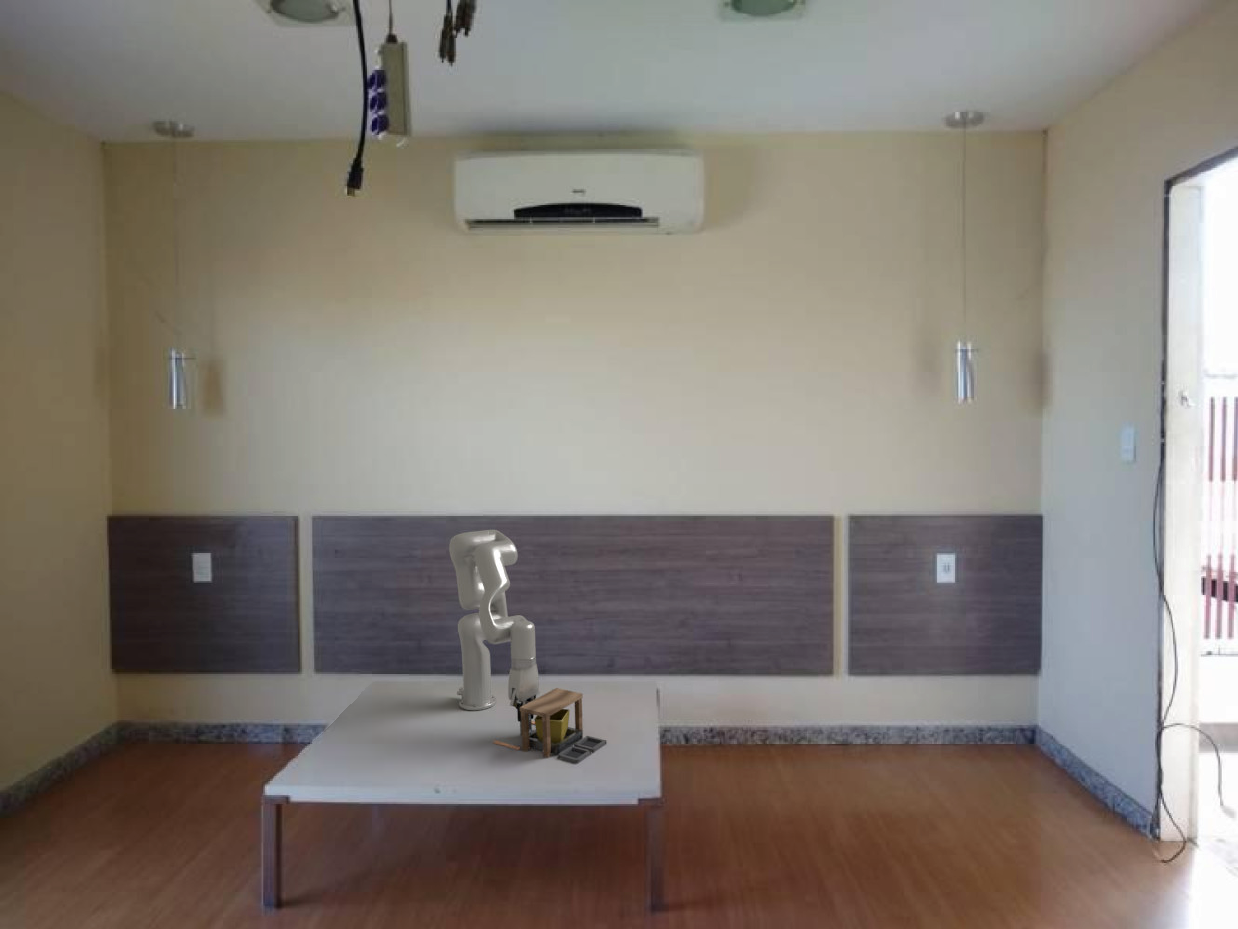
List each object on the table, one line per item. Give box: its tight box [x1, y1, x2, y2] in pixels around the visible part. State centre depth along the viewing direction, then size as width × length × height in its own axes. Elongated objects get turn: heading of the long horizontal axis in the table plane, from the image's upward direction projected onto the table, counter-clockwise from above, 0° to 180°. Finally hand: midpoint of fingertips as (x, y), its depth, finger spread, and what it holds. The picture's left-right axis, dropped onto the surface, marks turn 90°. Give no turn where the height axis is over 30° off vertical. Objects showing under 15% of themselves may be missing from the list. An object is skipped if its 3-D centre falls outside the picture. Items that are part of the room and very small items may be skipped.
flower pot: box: [533, 708, 570, 744], centre depth 229 cm, size 9×9×9 cm
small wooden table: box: [520, 687, 584, 758], centre depth 229 cm, size 10×18×13 cm, turn 147°
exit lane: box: [492, 720, 535, 751], centre depth 235 cm, size 10×18×1 cm, turn 147°
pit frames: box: [557, 735, 607, 765], centre depth 224 cm, size 7×15×1 cm, turn 147°
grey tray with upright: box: [519, 701, 584, 756], centre depth 231 cm, size 18×13×10 cm
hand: (525, 719), depth 235 cm, fingers closed on grey tray with upright, 2 cm apart
